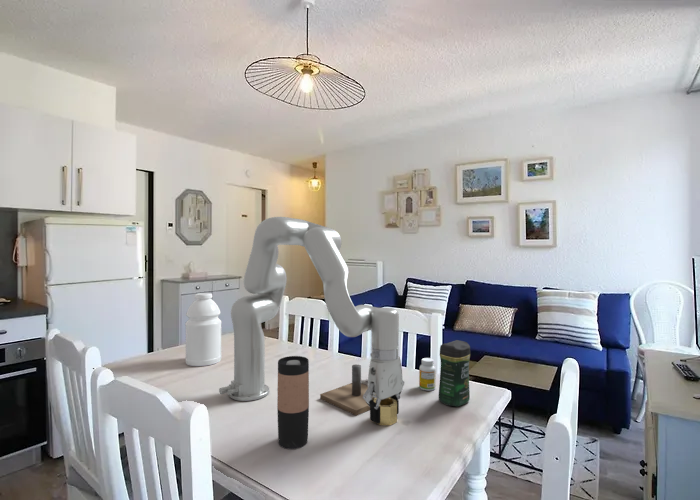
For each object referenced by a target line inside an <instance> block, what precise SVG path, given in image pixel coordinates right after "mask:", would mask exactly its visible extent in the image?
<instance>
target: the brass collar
mask: <svg viewBox="0 0 700 500" xmlns="http://www.w3.org/2000/svg"><path fill="white" fill-rule="evenodd" d="M376 400H377V398H375V399H374V402H375V403H376ZM379 408H380V423H379V424H377V423H375V422H373V423H374V424H376V425H378V426H393V425H394V424H396V423H398V414H397V402H396V400H395V399H393V398H390V397H389V398H386V399H384V400H381V401H380V405H379Z"/></svg>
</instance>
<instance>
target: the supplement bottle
mask: <svg viewBox="0 0 700 500" xmlns="http://www.w3.org/2000/svg"><path fill="white" fill-rule="evenodd" d="M434 360H435V359H433V358H431V357H424V358H422V359H421V364H420V365H419V370H418V371H419V373H418V374H419V377H418V379H419V380H418V382H419V383H418V384H419V389H421V390H423V391H428V392H429V391H430V392H431V391H434V390H435V389H436V386H437V385H436V378H437V377H436V374H437V373H436V372H437V369H436V365H435V366H434V363H435V362H434Z"/></svg>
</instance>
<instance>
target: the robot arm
mask: <svg viewBox="0 0 700 500" xmlns="http://www.w3.org/2000/svg"><path fill="white" fill-rule="evenodd" d="M342 242H343V241H342V238H341V235H340V234H339V232H338V231H337V230H335V229H334V228H332V227H331V228H330V227H327V226H324V225H321V224H319V223H318V224H317V223H315V222H311V221H308V220H305V219H300V218H294V217H293V218H292V217H286V216H273V217H269V218H266V219H264V220H262V221H261V222H260V223H258V225H257V226H256V229H255V232H254V235H253V240H252V247H251V252H250V254H249V258H248V262H247V265H246V269H245V273H244V276H243V277H244V278H243V287H244V289H245V290H246V292H248V293H249V294H251V295H246V296H241V297H240V298H238V299H237V300H235V301H234V303H233V304H232V306H231V309H230V318H231V322H232V323H231V324H232V328H233V357H234V358H233V368H234V369H233V380H231V381H230V384H228V385H227V386H221V387H219V388H218V392H219V394H220V395H224V394H227V395H228V396H229V398H230V399H232V400H234V401H241V402H247V401H256V400H261V399H263V398H265V397H266V396H267V395H269V394H270V387H269V386H268V385H267V384H265V355H266V354H265V352H266V351H265V333H264V331H263V328H262V325H261V324H262V323H264V322H265V323H266V322H269V321H270V320H272V319H273V318H275V317H276V316H277V314H278V312H279V310H280V306H281V304H282V301H283V297H284V294H285V290H286V286H287V281H288V280H287V273H286V269H284V267H283V266H282V265H280V264H279V263H277V261H278V259H279V247H278V246H279V245H280V246H281V245H284V246H287V245H288V246H301V247H304V249H305V251H306V253H307V255H308V256H309V258H310V261H311V262H312V264H313V266H314V268H315V269H316V272H317V274H318V276H319V277H320V279H321V281H322V285H323V294H324V301H325V305H326V309H327V310H328V314H329V315H330V317H331V318H332V321H333V323H334V324H335V326H336V328H337V329H338V330H339V332H340V333H341V334H342V335H344V336H345V337H347V338H356V337H358V336H361V335H362V334H364V333H366V332H370V331H371V334H370V335H371V336H370V337H371V339H370V341H371V342H370V343H371V346H370V347H371V349H370V350H371V353H370V358H371V359H370V360H369V365H368V376H367V385H368V389H367V390H366V392H365V394H364V395H363V398H364V400H365V401H366V403H367V404H368V406H369V407H370V410H369V420H370V422H373V423H374V422H375V423H374V424H376V423H377V424H376V425H379V423H380V408H379V405H380V401H381V400H384V399H386V398H389V397H390V398H393V399H395V400H396V402H397V415H398V414H399V412H400V411H399V410H400V409H399V408H400V406H399V403H400V402H399V401H400V399H401V393H402V390H403V388H404V385H405V380H404V379H403V367H402V362H401V357H400V355H399V350H400V347H399V338H400V337H399V336H400V335H399V334H400V333H399V331H400V323H399V322H400V321H399V319H400V316H399V315H400V313H399V312H398V310H397V309H395V308H392V307H376V306H371V305H367V304H358V305H356V306H355V305H354V303H353V301H352V299H351V297H350V294H349V290H348V287H347V286H348V285H347V283H348V276H349V274H350V273H349V271H350V269H349V266H348V265H347V263H346V261H345V259H344V258H343V256H342V254H341V252H340V249H341V248H342ZM375 394H376V395H375ZM375 398H377V400H376V403H375V402H374V399H375Z"/></svg>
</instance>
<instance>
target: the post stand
mask: <svg viewBox="0 0 700 500" xmlns="http://www.w3.org/2000/svg"><path fill="white" fill-rule="evenodd" d="M367 389H368V384H365V383H362V365H360V364H352V365H351V383H348V384H345V385H342V386H339V387H336V388H334V389H330V390H328V391H325V392H323V393H320V394H319V396H320V397H319V399H320V400H322V401H324V402H327V403H328V404H330V405H333V406H334V407H337V408H338V409H340V410H344V411H345V412H348V413H350V414H352V415H354V416H355V417H357V416H360V415H361V414H363V413H366V412H368V411H370V407H369V406H368V404H367V403H366V401H365V400H364V398H363V395H364V394H365V392H366V390H367ZM375 395H376V394H375Z"/></svg>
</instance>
